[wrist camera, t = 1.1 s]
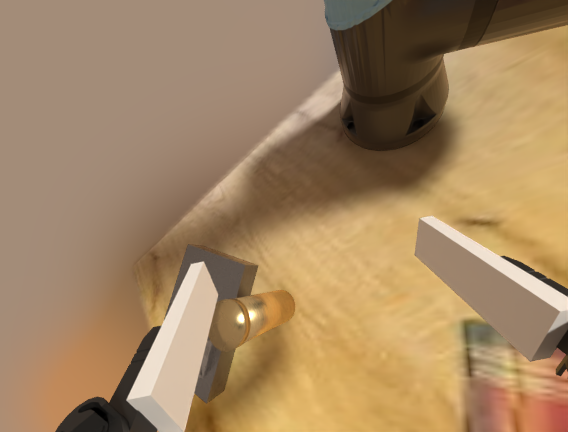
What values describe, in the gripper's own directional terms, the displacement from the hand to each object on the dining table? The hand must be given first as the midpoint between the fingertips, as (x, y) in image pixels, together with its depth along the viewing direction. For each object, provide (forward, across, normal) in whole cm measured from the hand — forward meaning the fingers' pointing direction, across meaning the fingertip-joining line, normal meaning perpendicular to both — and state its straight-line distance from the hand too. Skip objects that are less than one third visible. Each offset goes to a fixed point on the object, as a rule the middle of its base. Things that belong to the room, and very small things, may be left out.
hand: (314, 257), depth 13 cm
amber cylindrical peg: (+15, -5, -21) cm, 26 cm away
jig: (+20, -19, -24) cm, 36 cm away
